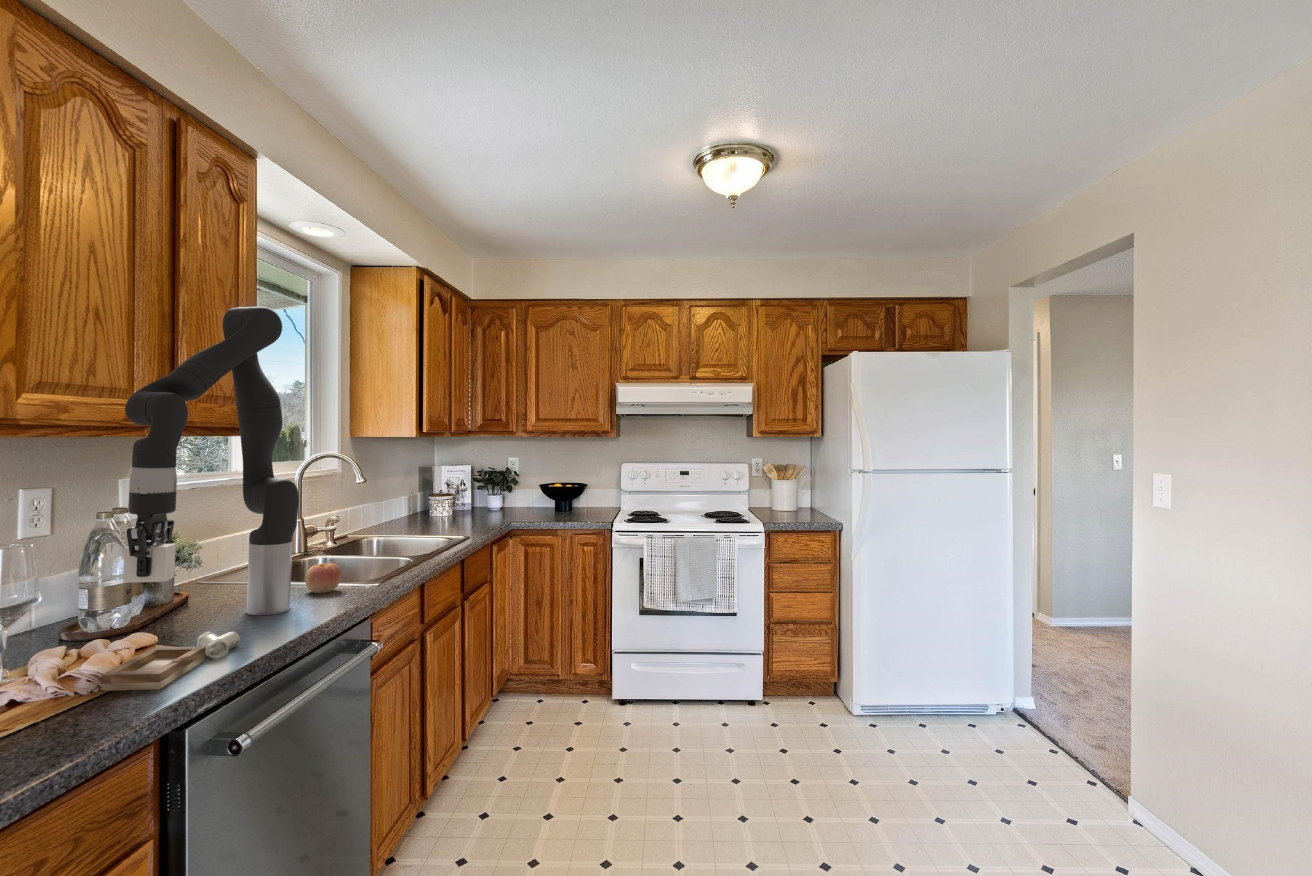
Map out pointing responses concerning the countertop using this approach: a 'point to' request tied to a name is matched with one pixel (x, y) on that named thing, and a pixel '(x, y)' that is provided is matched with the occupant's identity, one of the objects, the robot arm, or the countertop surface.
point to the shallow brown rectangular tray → (153, 668)
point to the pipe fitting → (218, 643)
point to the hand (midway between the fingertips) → (149, 573)
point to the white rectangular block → (160, 564)
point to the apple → (323, 577)
